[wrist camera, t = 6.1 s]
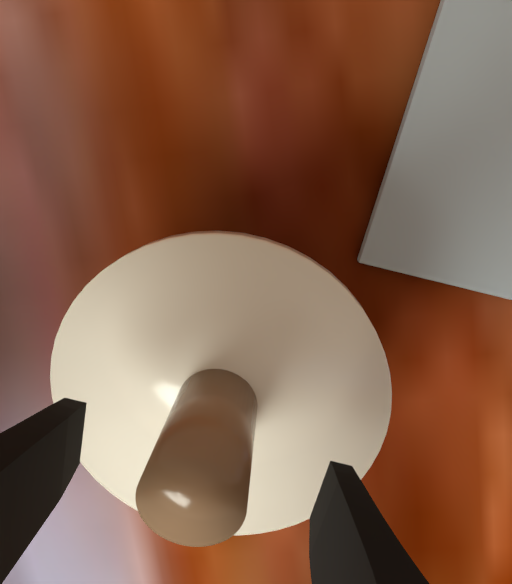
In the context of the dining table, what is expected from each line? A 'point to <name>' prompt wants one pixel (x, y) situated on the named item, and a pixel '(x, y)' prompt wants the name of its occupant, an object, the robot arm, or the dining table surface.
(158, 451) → the lid
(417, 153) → the mat
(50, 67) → the dining table surface
